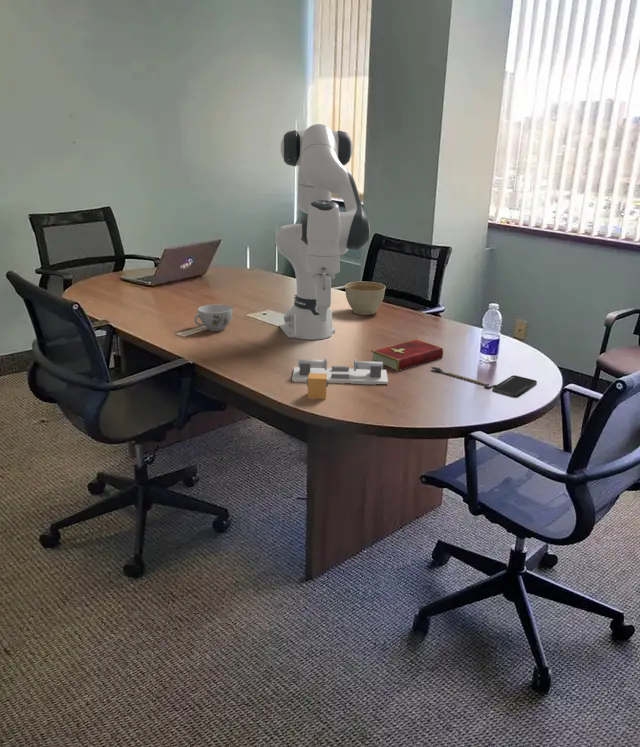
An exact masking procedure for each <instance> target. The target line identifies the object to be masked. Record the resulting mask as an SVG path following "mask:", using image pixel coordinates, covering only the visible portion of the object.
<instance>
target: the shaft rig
mask: <svg viewBox="0 0 640 747" xmlns="http://www.w3.org/2000/svg"><path fill="white" fill-rule="evenodd" d="M297 360H298V361H297V366H294V367H293V373H292V377H291V381H292V383H307V379H308V375H309V373H318V374H327V380H328V384H345V383H351V385H376V384H388V385H389V379H388V372H387V369H383V368H384V365H383V362H375V361H373V360H371V361H365V360H363V361H362V360H361V361H359V360H357V358H354V359H353V368H350V366H342V365H341V366H340V365H332V366H331V367H328V358H327V357H325V359H305V358H304V359H303V358H302V359H299V358H298V359H297ZM293 381H294V382H293Z"/></svg>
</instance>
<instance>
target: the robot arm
mask: <svg viewBox="0 0 640 747" xmlns="http://www.w3.org/2000/svg"><path fill="white" fill-rule="evenodd" d="M353 150H354V146H353V141H352V139H351V135H350V134H349V133H348V132H346V131H343V130H332V129H331V128H330V127H328V126H327V125H325V124H321V123H316V124H312V125H310V126H309V127H307V128H306V129H305V130H294V129H293V130H289V131H287V132H285V133H284V135H283V138H282V140H281V142H280V153H281V157H282V159H283V162H284V163H285V165H287V166H291V167H295V168H296V167H297V166H298V172H297V207H298V208H299V209H300V211H301V212H303V213H305V215H304V216H303V217H302V218H301V220H300V222H301V223H291V224H286V225H281V226H280V227H279V229H278V230H277V231H276V234H275V241H274V243H275V246H276V249H277V250H278V252H279V253H280V254H281V255H282V256H284V257H285V258H286V259H287V260H288V262H289V263H290V264H291V266H292V268H293V270H294V274H295V279H296V280H295V281H296V294H294V295H293V296H294V301H293V302H294V303H293V306H291V307H290V308H289V309H287V311H286V312H285V315H284V316H283V321H284V322H281V323H279V326H278V327H279V328H280V329H281V331H282V332H283V333H284V334H285V336H287V338H290V339H301V340H310V341H311V340H313V341H314V340H322V339H323V340H324V339H328V338H330V337H331V336H332V335H333V333H335V332H336V328H334V327H333V313H332V309H331V308H330V307H331V305H332V280H334V279H335V278H336V274H338V273H341V272H340V269H341V256H343V255H345V254H346V253H347V252H349V250H359V249H361V248H363V246H365V245H366V244H367V243H368V242H369V240H370V235H371V234H370V233H371V228H370V222H369V220H368V216H367V214H366V212H365V211H364V207H363V204H362V200H361V197H360V195H359V191H358V187H357V184H356V181H355V178H354V176H353V173H352V172H351V170H350V169H348V168H347V167H345V166H346V165H347V164H349V163H350V161H351V158H352V155H353ZM332 193H333V194H335V195H336V196H339V197H340V198H341V199H342V201H343V205H344V207H345V210H346V211H340V206H339V204H338V203H337V202H335V201H332Z"/></svg>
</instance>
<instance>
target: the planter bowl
mask: <svg viewBox="0 0 640 747" xmlns="http://www.w3.org/2000/svg"><path fill="white" fill-rule="evenodd" d="M344 288H345V298H346V300H347V303H348V305H349V306H350V308H351V309H352V313H354V314H355V315H356V314H357V315H361V316H370V315H374V314H376V312H377V310H378V309H379V307H380V306H381V305H382V303H383V301H384V297H385V294H386V293H385V291H386V285H385V284H383V283H380V282H375V281H374V282H373V281H362V280H360V281H352V282H351V281H350V282H348V283H346V284H345V285H344Z"/></svg>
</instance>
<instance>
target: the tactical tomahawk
mask: <svg viewBox="0 0 640 747" xmlns="http://www.w3.org/2000/svg"><path fill="white" fill-rule="evenodd" d="M431 369H432V370H435V371H437V372H438V373H439V374H441V373H442V375H445V374H446V376H448V375H450V376H449V377H451V376H453V377H452V378H455V377H457V378H456V379H459V378H460V379H459V380H462V379H464V380H463V381H466V380H467V381H466V382H469V381H470V383H473V382H474V383H473V384H476V383H477V385H480V384H481V385H480V386H483V385H484V386H483V389H487V390H489V389H491V388H492V389H493V387H494V386H496V385H497V384H493V385H489V383H488V384H487V383H485V382H482V381H480V380H476V379H473V378H469V377H465V376H463V375H459V374H455V373H452V372H445V371H444V370H442V369H441V368H439V367H435V366H431Z"/></svg>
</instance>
